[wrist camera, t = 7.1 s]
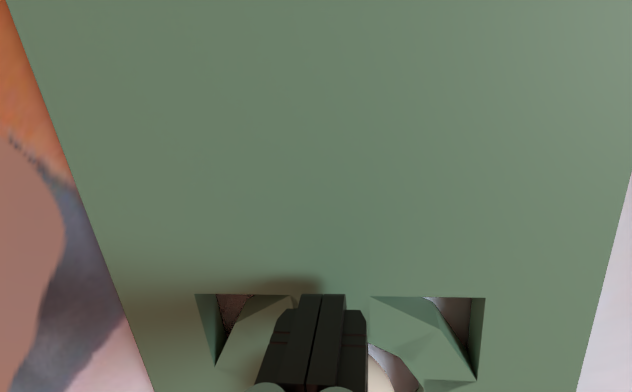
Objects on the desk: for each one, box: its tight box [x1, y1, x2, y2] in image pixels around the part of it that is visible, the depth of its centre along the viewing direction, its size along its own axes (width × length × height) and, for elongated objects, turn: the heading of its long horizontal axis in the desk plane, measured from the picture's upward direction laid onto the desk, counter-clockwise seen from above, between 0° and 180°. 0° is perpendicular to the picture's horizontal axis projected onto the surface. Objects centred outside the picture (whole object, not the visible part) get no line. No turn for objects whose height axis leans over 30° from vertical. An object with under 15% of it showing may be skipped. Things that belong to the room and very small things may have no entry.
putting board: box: [6, 0, 632, 392], centre depth 13 cm, size 26×18×2 cm
